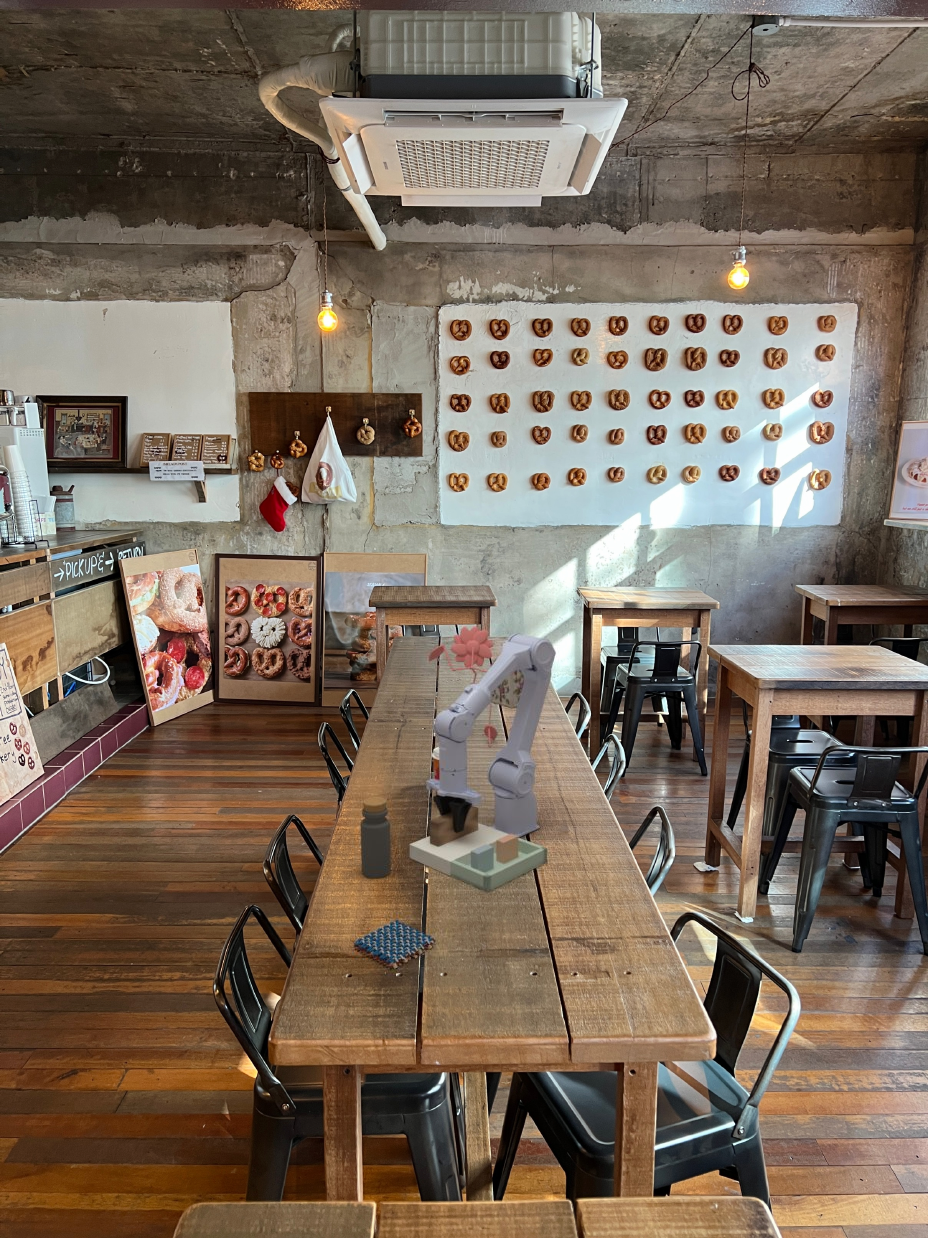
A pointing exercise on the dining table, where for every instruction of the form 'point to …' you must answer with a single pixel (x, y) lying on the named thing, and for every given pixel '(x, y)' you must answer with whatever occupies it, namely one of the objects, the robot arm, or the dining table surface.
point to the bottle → (375, 838)
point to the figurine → (470, 658)
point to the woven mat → (394, 944)
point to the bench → (454, 848)
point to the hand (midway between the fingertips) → (453, 829)
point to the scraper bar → (451, 827)
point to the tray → (501, 867)
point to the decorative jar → (509, 690)
